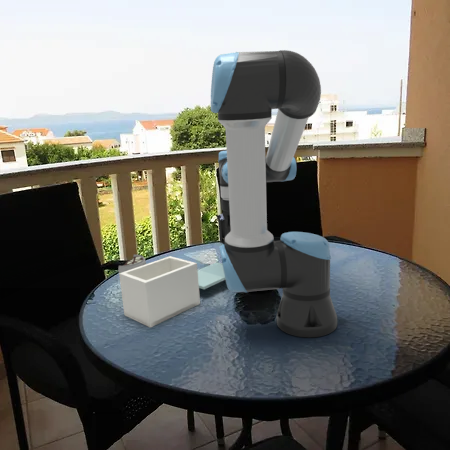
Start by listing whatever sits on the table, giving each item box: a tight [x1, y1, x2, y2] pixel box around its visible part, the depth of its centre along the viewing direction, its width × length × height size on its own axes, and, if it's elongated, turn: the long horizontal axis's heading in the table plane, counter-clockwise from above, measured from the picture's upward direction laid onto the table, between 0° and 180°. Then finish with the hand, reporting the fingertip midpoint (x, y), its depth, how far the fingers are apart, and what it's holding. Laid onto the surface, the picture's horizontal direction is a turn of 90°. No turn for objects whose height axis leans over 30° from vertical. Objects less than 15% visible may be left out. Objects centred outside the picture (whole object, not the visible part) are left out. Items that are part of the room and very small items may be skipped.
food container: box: [118, 254, 147, 274], centre depth 133 cm, size 12×6×10 cm, turn 168°
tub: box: [118, 255, 201, 328], centre depth 116 cm, size 12×18×12 cm, turn 137°
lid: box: [197, 262, 226, 290], centre depth 134 cm, size 12×24×7 cm, turn 137°
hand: (236, 264), depth 141 cm, fingers closed on lid, 4 cm apart
